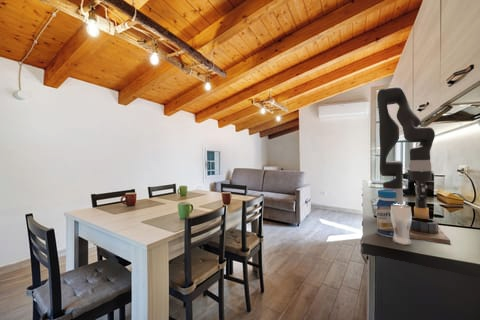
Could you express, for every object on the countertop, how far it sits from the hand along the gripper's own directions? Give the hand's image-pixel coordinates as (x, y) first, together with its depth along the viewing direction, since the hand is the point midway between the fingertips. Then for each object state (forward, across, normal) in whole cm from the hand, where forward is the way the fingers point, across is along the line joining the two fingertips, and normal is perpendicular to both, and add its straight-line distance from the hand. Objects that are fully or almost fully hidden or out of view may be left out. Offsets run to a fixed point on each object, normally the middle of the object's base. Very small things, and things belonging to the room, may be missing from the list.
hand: (421, 207), depth 92 cm
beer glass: (+12, +18, -9) cm, 23 cm away
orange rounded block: (+5, 0, 0) cm, 5 cm away
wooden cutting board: (+12, 0, 0) cm, 12 cm away
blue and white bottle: (+12, +10, -13) cm, 20 cm away
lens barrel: (+10, 0, 0) cm, 10 cm away
